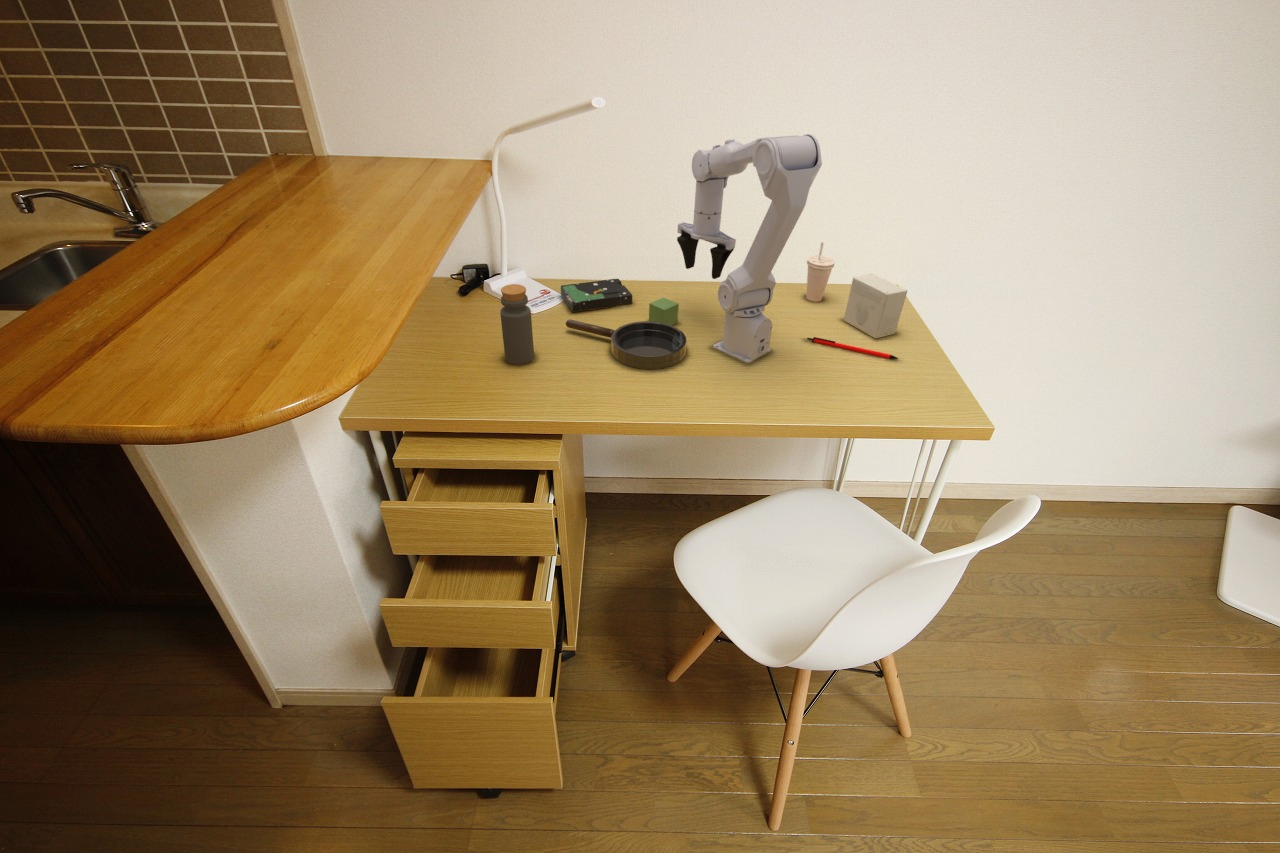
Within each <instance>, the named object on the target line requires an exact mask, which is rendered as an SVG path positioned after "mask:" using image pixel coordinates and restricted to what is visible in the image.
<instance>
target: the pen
mask: <svg viewBox="0 0 1280 853" xmlns="http://www.w3.org/2000/svg"><path fill="white" fill-rule="evenodd" d="M806 340H808V341H812V342H813V343H816V344H821V345H825V346H829V347H834V348H839V349H844V350H848V351H853V352H856V353H862V354H865V355H870V356H875V357H880V358H884V359H887V360H888V359H889V360H898V359H899V357H897V356H895V355H893V354H890V353H885V352H882V351H876V350H872V349H867V348H862V347H857V346H854V345H849V344H844V343H839V342H836V341H835V340H831V339H825V338H820V337H816V336H814V337H813V338H811V337H807V338H806Z"/></svg>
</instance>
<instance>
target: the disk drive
mask: <svg viewBox="0 0 1280 853" xmlns="http://www.w3.org/2000/svg"><path fill="white" fill-rule="evenodd" d="M560 295H561V297H562V299H563V300H564V302H565V304H566V305H567V307H568V309H570V311H571V312H575V313H579V312H585V311H592V310H598V309H607V308H614V307H620V306H627V305H631V304H633V294H632V292H631V291H630V290H629V289H628V288H627V287H626V285H624V284H622V281H621V280H620V279H619V278H610V279H604V280H594V281H587V282H579V283H570V284H563V285H560Z"/></svg>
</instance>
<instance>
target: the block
mask: <svg viewBox="0 0 1280 853" xmlns="http://www.w3.org/2000/svg"><path fill="white" fill-rule="evenodd" d="M648 304H649V305H648V321H652V322H660V323H665V324H668V325H671V326H673V325H675V324H677V323H678V317H679V305H680V304H679V303H678V302H675V301H672V300H670V299H669V298H666V297H660V298H658V299H656V300H654V301H651V302H649V303H648Z"/></svg>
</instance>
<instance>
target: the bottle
mask: <svg viewBox="0 0 1280 853" xmlns="http://www.w3.org/2000/svg"><path fill="white" fill-rule="evenodd" d="M500 292H501V295H502V296H501V297H500V303H501V305H502V306H503V307H502V308H501V309H500V312H499V313H500V323H501V324H500V325H501V333H502V342H503V351H504V358H505V361H506V362H507V363H508V364H511V365H514V366H521V365H522V366H523V365H527V364H529V363H531V362H532V361H533V360H534V358H535V347H534V335H533V334H534V332H533V323H532V322H533V320H532V313H531V312H532V311H531V308H530V306H528V305H527V304H528V302H529V298H528V296H527V294H526V293H527V288H526V286H524V285H522V284H517V283H514V284H513V283H512V284H507V285H504V286H502V287H501V289H500Z"/></svg>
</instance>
